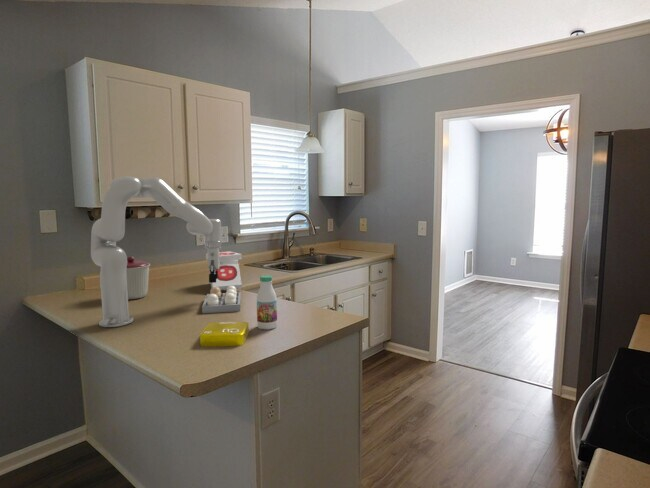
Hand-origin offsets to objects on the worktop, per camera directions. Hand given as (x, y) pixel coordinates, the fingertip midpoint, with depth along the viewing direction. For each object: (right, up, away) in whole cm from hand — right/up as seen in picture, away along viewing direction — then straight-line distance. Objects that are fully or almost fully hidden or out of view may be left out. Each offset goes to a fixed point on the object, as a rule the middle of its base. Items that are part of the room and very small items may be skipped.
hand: (213, 280), depth 202 cm
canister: (-44, -10, +12) cm, 47 cm away
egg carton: (+6, -11, -5) cm, 13 cm away
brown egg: (+1, -9, +2) cm, 9 cm away
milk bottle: (+31, -15, -38) cm, 51 cm away
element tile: (+18, -17, -51) cm, 56 cm away
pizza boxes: (-2, -7, +34) cm, 35 cm away
